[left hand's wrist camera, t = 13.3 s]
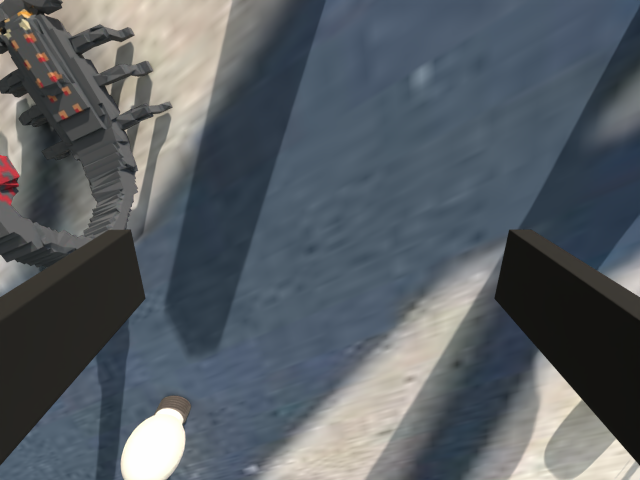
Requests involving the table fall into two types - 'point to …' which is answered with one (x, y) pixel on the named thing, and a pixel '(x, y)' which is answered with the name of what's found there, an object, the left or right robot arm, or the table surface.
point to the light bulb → (157, 442)
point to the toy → (67, 124)
